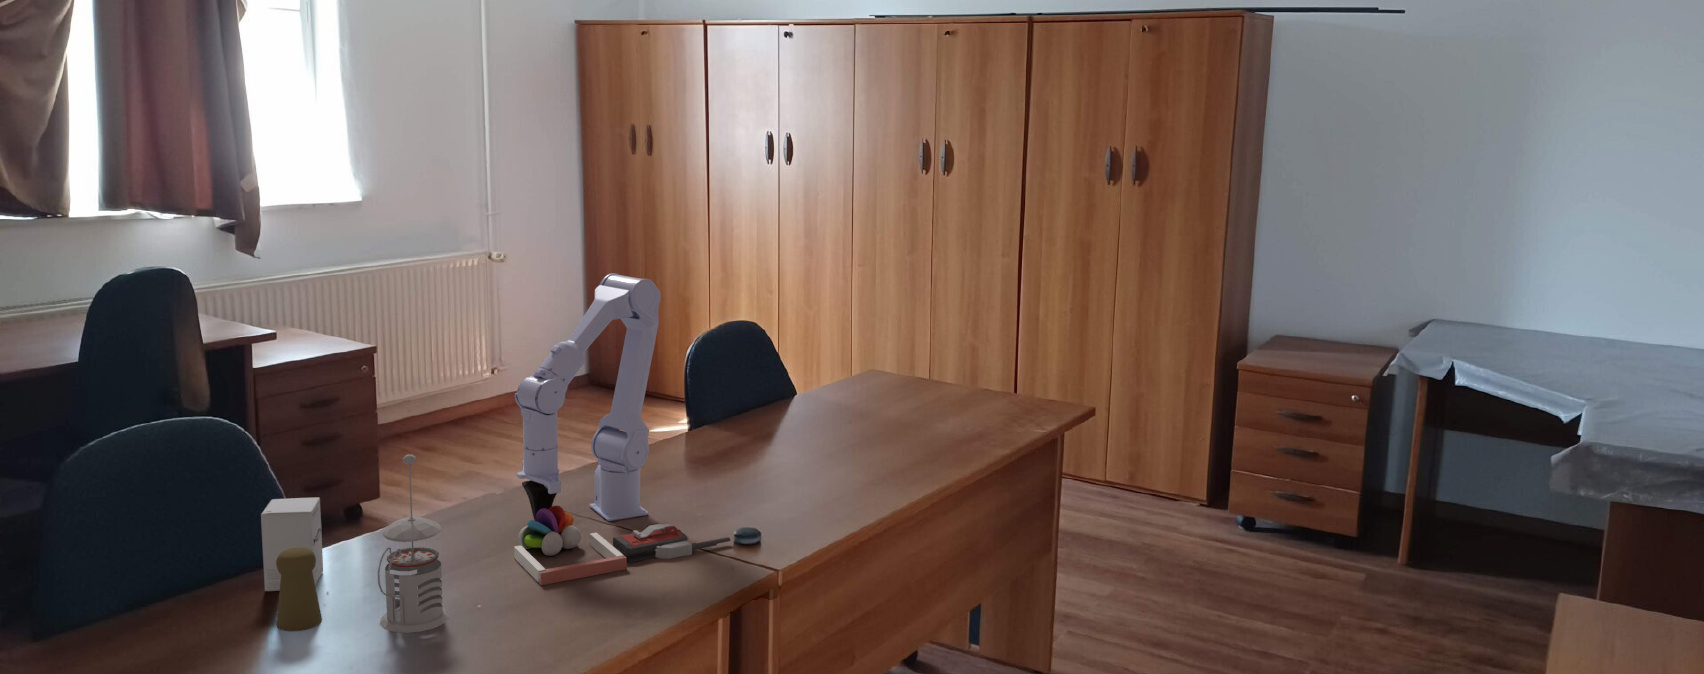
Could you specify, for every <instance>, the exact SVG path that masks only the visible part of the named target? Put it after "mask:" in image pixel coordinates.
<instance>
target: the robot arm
mask: <svg viewBox="0 0 1704 674" xmlns="http://www.w3.org/2000/svg"><path fill="white" fill-rule="evenodd" d="M661 298H662V293H661V291H660V290H659V288H658V287H657V286H656V284H655V282H654V281H652V280H651V279H649V278H638V277H633V276H626V275H621V274H619V273H614V272H613V273H608V274H607V275H606V276H604V277H603V279H602V280H601V281H600V283H599V285H598V286H597V287H595V289H594V298H593V299H594V300H593V301H592V303H591V304H590V306H589V308H588V309H587V311H586V312H585V314H584V315H583V317H582V318H581V320H580V321H579V323H578V324H577V326H576V328H575V329H574V331H573V332H572V334H571V335H570V336H569V338H568V340H565V341H560V342H559V341H558V342H557V343H556V344H555V345H553V346H552V347H551V348H550V352H549V354H548V355H547V356H546V358H544V360H543V362H542V363H541V364H540V366H539V367H538V368H537V369H536V370H535V371H534V373H533V375H530V376H529V377H525V378H524V379H523V380H521V382H520V383H519V384H518V387H517V391H516V393H514V400H515V403H516V405H517V406H519V409H520V416H522V435H523V437H522V441H523V450H522V451H523V460H521V471H518V472H516V477H517V478H519V479H521V480H524V479H526V480H524V481H522V482H521V485H522V487H523V489H524V492H526V495H527V498H528V501H529V504H530V508H531V513H532V516H533V520H534V521H537V520H536V514H537V512H538V511H539V510H540V509H543V508H546V509H549V508H551V507H552V506H553V503H554V500H555V498H556V496H557V495H558V494H560V493H562V481H561V480H560V469H559V462H558V461H559V460H558V459H559V458H558V457H559V456H558V455H559V452H558V444H559V443H558V411H559V410H560V409H561V407H563V405H564V403H565V399H566V392H567V391H568V386H569V384H570V383H571V381H572V380H573V379H574V378H575V376H576V375H577V374H578V372H579V371H580V370H581V368H582V367H583V366H584V364H585V363H586V356H585V352H586V351H587V350H588V348H589V347H590V346H591V345H592V344H593V343H594V342H595V340H596V339H597V338H598V337H599V336H600V334H601V333H602V332H603V331H604V330H605V329H606V328H607V327H608V325H609V324H610V323H611V322H612V321H613V320H614V321H615V320H621V322H622V323H623V325H624V326H625V328H626V333H625V337H624V343H623V348H622V352H621V357H620V363H619V367H618V373H617V378H616V382H615V388H614V393H613V394H614V395H613V398H612V405H611V408H610V409H611V410H610V412H609V413H607V414H606V415H605V416H603V417H601V418H600V419H599V424H598V427H597V430H596V432H595V433H594V435H593V437H592V439H591V446H590V447H591V452H592V454H593V456H594V457H595V458H596V459H597V467H596V469H595V471H594V477H593V479H594V483H593V484H594V485H593V486H594V487H593V490H594V495H593V496H594V501H593V503H589V507H590V508H591V509H592V510H594V511H595V512H596V513H598V514H599V515H600V516H601V517H602V518H604V519H605V520H606V521H609V522H612V521H618V520H623V519H630V518H636V517H642V516H647V515H649V512H648V510H646V509H645V508H643V507H642V506H641V469H642V468H644V467H643V466H644V464H645V463H646V461H647V459H648V457H649V454H650V445H649V444H650V443H649V434H650V430H649V428H648V426H647V424H646V423H645V422H644V420H643V418H642V417H641V416H642V410H643V406H644V400H645V396H646V391H647V386H648V385H647V384H648V381H649V376H650V370H651V366H652V365H651V363H652V359H653V355H654V351H655V345H656V341H657V340H656V339H657V334H658V328H659V323H660V322H659V321H660V320H659V309H660V308H659V307H660V304H661V303H660V302H661Z"/></svg>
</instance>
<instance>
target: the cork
mask: <svg viewBox="0 0 1704 674" xmlns="http://www.w3.org/2000/svg"><path fill="white" fill-rule="evenodd" d="M315 564H316V557H315V554H314V552H313V551H312V550H310V549H308V548H304V547H296V548H290V549H287V550H284V551H283V552H281V553H280V554H279V556H278V557H277V560H276V566H277V569H278V572H279V573H280V574H281V581H280V591H279V592H278V593H279V594H278V604H277V616H276V627H277V629H279V630H280V631H281V630H282V631H287V632H299V631H304V630H306V631H307V630H309V629H312V628H314V627H316V626H318V625H319V624H321V623H322V621H323V616H322V613H321V612H322V611H321V608H320V603H319V598H318V593H317V588H316V586H315V582H314V577H313V572H312V570H313V569H314V567H315Z"/></svg>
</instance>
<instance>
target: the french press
mask: <svg viewBox="0 0 1704 674" xmlns="http://www.w3.org/2000/svg"><path fill="white" fill-rule="evenodd" d="M416 463H417V457H416V455H414V454H406V455H405V456H404V457H402V464H403V465H408V469H409V470H408V472H409V473H408V474H409V475H408V476H409V477H408V478H409V502H410V503H409V506H410V517H404V518H402V519H397V520H395V521H394V522H391V523H390V524H388V526H385V527H384V528H383V529H382V532H381V534H382V536H383V537H384V538H385V539H386V540H388V541H393V542H397V543H407V542H410V543H411V547H410V546H409V547H407V548H398V549H397V550H395V551H392V548H391V547H387V548H386V549H385V551H383V553H382V555H381V558H380V559H379V564H378V568H377V584H378V588H379V589H380V592H381V594H382V595H384V596H385V598H386V599H385V600H386V613H385V614H383V616H382V617H381V618H380V620H379V625H380V626H381V627H382V628H383V629H384V630H387V631H390V632H394V633H404V634H405V633H406V634H408V633H409V634H410V633H419V632H424V631H425V632H426V631H428V630H433V629H436V628H437V627H440V626H442V625H444V624H445V623H446V622H447V621H448V620H450V617H451V615H450V614H451V613H450V612H449V610H447V609H446V608H445V607H444V605H443V596H442V595H443V588H442V587H443V581H442V580H441V579H442V578H443V577H442V576H443V575H442V574H443V573H442V562H441V560H439V559H438V558H439V556H440V555H439V554H440V553H439V552H438V551H436V549H434V548H430V547H422V546H419V547H414V542H417V541H423V540H427V539H430V538H432V537H435V536H436V535H438V534H439V533H440V532H441V531H442V525H440V524H439V523H438V522H437V521H434V520H433V519H428V518H425V517H421V516H417V517H416V516H413V494H412V470H411V465H413V464H416ZM388 551H389V555H387V556H386V561H387V562H388V563H387V564H386V566H385V568H384V572H385V575H384V576H385V577H384V579H385V592H384V590H383V588H382V585H381V578H380V570H381V567H382V562H383V560H384V557H385V555H386V553H387V552H388ZM391 571H396V572H412V571H416V573H414V574H411V575H409V574H405V575H403V574H402V575H400V574H393V573H391ZM395 580H398V582H395ZM396 588H398V589H399V590H396Z"/></svg>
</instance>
